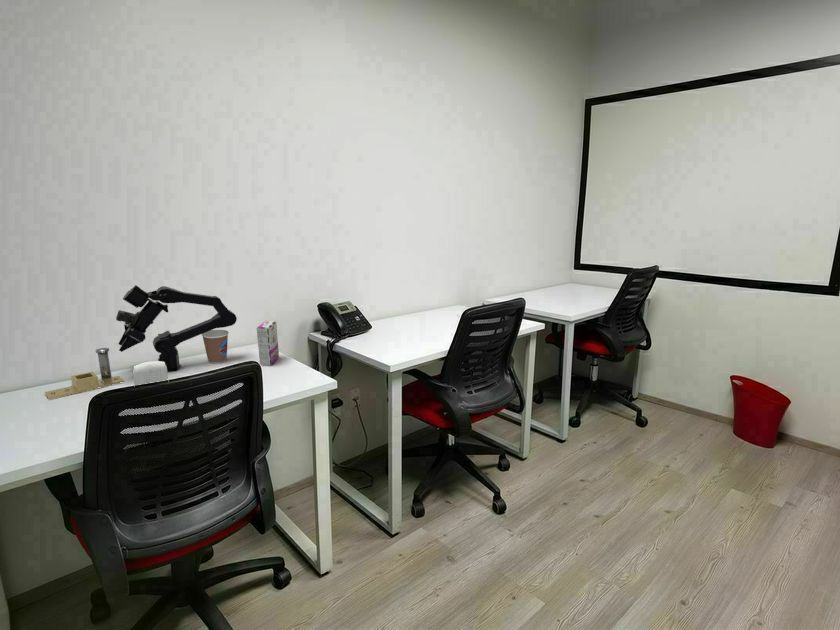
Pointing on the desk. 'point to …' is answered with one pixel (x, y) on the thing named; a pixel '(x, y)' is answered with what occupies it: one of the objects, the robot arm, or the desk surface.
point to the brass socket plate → (83, 384)
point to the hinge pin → (104, 362)
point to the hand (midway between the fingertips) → (119, 347)
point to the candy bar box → (267, 342)
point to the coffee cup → (216, 345)
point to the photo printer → (150, 372)
